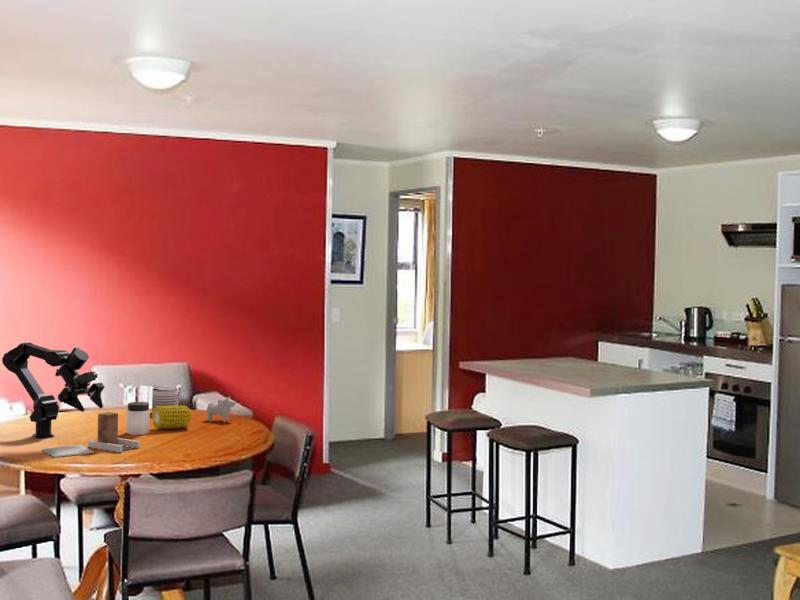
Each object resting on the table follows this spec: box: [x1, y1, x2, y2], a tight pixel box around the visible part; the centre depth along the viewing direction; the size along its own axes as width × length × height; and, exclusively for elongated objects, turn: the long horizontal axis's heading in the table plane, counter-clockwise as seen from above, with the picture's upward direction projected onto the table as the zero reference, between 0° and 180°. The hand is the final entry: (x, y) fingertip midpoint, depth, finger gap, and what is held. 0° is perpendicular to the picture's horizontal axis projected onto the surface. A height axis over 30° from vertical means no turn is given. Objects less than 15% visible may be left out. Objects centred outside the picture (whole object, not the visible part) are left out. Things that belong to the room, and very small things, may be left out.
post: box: [97, 411, 119, 445], centre depth 333 cm, size 5×5×12 cm
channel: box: [87, 437, 141, 453], centre depth 331 cm, size 16×10×2 cm, turn 64°
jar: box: [126, 401, 151, 436], centre depth 360 cm, size 9×8×12 cm
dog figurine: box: [206, 396, 237, 423], centre depth 392 cm, size 5×13×11 cm, turn 86°
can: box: [151, 385, 179, 412], centre depth 407 cm, size 11×11×12 cm
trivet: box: [42, 444, 95, 458], centre depth 322 cm, size 14×14×1 cm
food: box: [151, 405, 192, 430], centre depth 371 cm, size 15×12×10 cm
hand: (92, 409), depth 336 cm, fingers open, 9 cm apart
